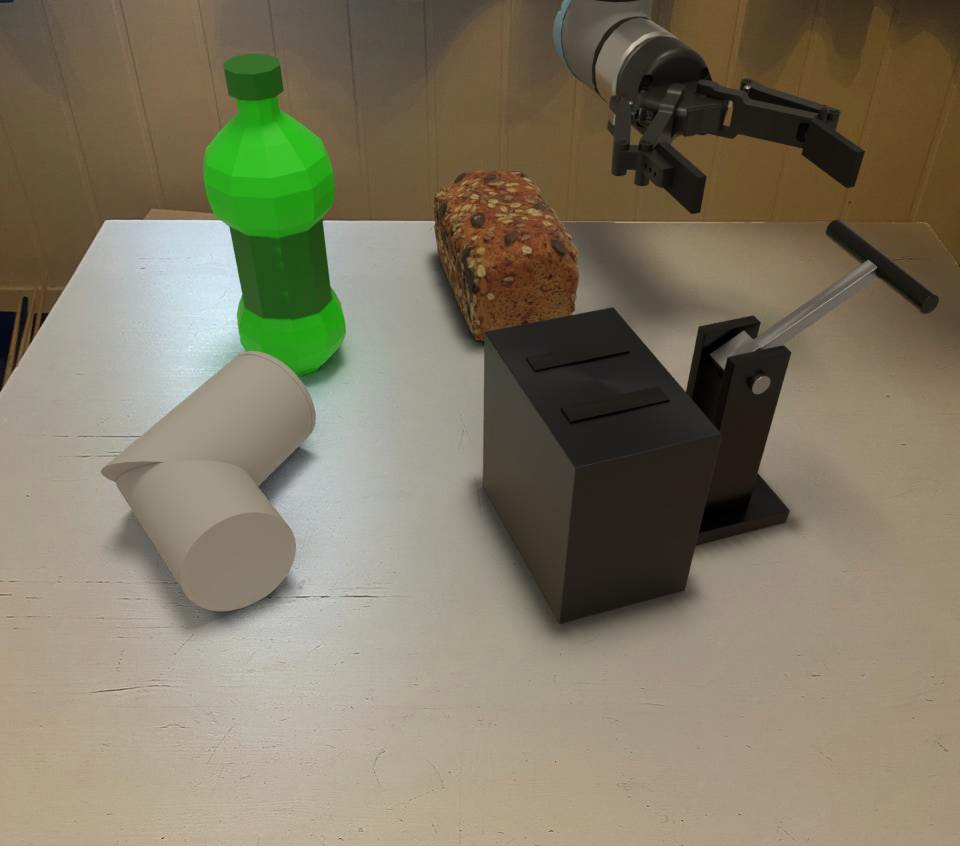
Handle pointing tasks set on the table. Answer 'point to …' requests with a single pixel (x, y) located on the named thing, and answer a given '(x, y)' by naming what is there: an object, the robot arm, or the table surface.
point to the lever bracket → (738, 428)
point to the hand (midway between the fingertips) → (779, 182)
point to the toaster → (594, 461)
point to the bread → (504, 251)
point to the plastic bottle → (275, 219)
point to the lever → (834, 295)
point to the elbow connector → (220, 481)
